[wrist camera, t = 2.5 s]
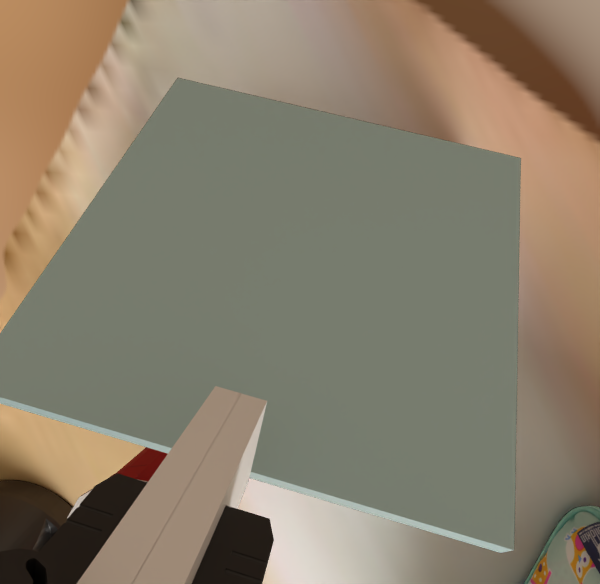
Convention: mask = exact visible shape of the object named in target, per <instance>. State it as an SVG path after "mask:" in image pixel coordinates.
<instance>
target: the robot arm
mask: <svg viewBox="0 0 600 584" xmlns="http://www.w3.org/2000/svg"><path fill="white" fill-rule="evenodd" d="M266 404H267V401H266V400H262V399H259V398H255V397H252V396H249V395H245V394H242V393H238V392H235V391H231V390H228V389H224V388H221V387H217V386H215V387H214V389H213V390H212V392H211V393H210V395H209V396H208V397H207V399H206V400H205V402H204V403H203V405H202V406H201V407H200V409H199V410H198V412H197V413H196V415H195V416H194V417H193V419H192V420H191V422H190V423H189V425H188V426H187V427H186V429H185V430H184V432H183V433H182V434H181V436H180V437H179V439H178V440H177V442H176V443H175V444H174V446H173V447H172V449H171V450H170V452H169V453H168V454H167V456H166V457H165V459H164V460H163V462H162V463H161V464H160V466H159V467H158V469H157V470H156V472H155V473H154V474H153V476H152V477H151V479H150V480H149V481H148V483H147V482H144V481H141V480H137V479H134V478H131V477H128V476H125V475H121V474H118V473H117V474H115V475H113V476H111V477H110V478H108V479H106V480H105V481H103V482H101V483H99V484H98V485H96V486H95V487H94V488H93V489H92V490H91V492H90V493H89V494H88V495H87V496H86V497H85V499H84V500H83V501H82V502H81V503H80V506H79V507H77V508H76V509H75V510H74V512H73V513H72V514H71V515H70V516H69V517H68V515H69V514H70V512H71V510H72V509H73V508H72V507H71V506H70V505H69V504H68V503H67V502H65V501H64V500H63V499H62V498H60V497H59V496H57V495H56V494H54V493H53V492H51V491H49V490H47V489H45V488H43V487H40V486H38V485H35V484H32V483H29V482H24V481H18V480H2V481H0V584H262V582H263V578H264V575H265V571H266V567H267V563H268V560H269V556H270V552H271V548H272V545H273V541H274V539H273V534H272V529H271V524H270V519H268V518H265V517H262V516H259V515H255V514H252V513H249V512H246V511H243V510H239V509H238V506H239V504H240V501H241V499H242V496H243V494H244V491H245V489H246V486H247V484H248V481H249V477H250V473H251V468H252V464H253V460H254V456H255V451H256V447H257V443H258V438H259V434H260V430H261V426H262V421H263V417H264V413H265V408H266ZM67 517H68V519H67Z"/></svg>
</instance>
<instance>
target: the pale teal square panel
mask: <svg viewBox="0 0 600 584" xmlns="http://www.w3.org/2000/svg"><path fill="white" fill-rule="evenodd" d="M520 176H521V158H519V157H514V156H510V155H506V154H502V153H497V152H493V151H489V150H484V149H480V148H476V147H472V146H467V145H463V144H459V143H455V142H450V141H446V140H442V139H437V138H433V137H429V136H425V135H420V134H416V133H412V132H408V131H403V130H399V129H395V128H390V127H386V126H382V125H378V124H373V123H369V122H365V121H361V120H356V119H352V118H348V117H343V116H339V115H335V114H331V113H326V112H322V111H318V110H314V109H309V108H305V107H301V106H296V105H292V104H288V103H284V102H279V101H275V100H271V99H267V98H262V97H258V96H254V95H249V94H245V93H241V92H237V91H232V90H228V89H224V88H220V87H215V86H211V85H207V84H202V83H198V82H194V81H190V80H185V79H181V78H177V80H176V81H175V82H174V84H173V85H172V87H171V88H170V90H169V91H168V92H167V94H166V95H165V97H164V98H163V100H162V101H161V103H160V104H159V105H158V107H157V108H156V110H155V111H154V113H153V114H152V116H151V117H150V118H149V120H148V121H147V123H146V124H145V126H144V127H143V129H142V130H141V131H140V133H139V134H138V136H137V137H136V139H135V140H134V141H133V143H132V144H131V146H130V147H129V149H128V150H127V152H126V153H125V154H124V156H123V157H122V159H121V160H120V162H119V163H118V165H117V166H116V167H115V169H114V170H113V172H112V173H111V175H110V176H109V178H108V179H107V180H106V182H105V183H104V185H103V186H102V188H101V189H100V190H99V192H98V193H97V195H96V196H95V198H94V199H93V201H92V202H91V203H90V205H89V206H88V208H87V209H86V211H85V212H84V214H83V215H82V216H81V218H80V219H79V221H78V222H77V224H76V225H75V227H74V228H73V229H72V231H71V232H70V234H69V235H68V237H67V238H66V239H65V241H64V242H63V244H62V245H61V247H60V248H59V250H58V251H57V252H56V254H55V255H54V257H53V258H52V260H51V261H50V263H49V264H48V265H47V267H46V268H45V270H44V271H43V273H42V274H41V276H40V277H39V278H38V280H37V281H36V283H35V284H34V286H33V287H32V288H31V290H30V291H29V293H28V294H27V296H26V297H25V299H24V300H23V301H22V303H21V304H20V306H19V307H18V309H17V310H16V312H15V313H14V314H13V316H12V317H11V319H10V320H9V322H8V323H7V325H6V326H5V327H4V329H3V330H2V332H1V333H0V404H4V405H7V406H10V407H14V408H17V409H20V410H24V411H27V412H31V413H34V414H37V415H41V416H44V417H47V418H51V419H54V420H57V421H61V422H64V423H67V424H71V425H74V426H77V427H81V428H84V429H87V430H91V431H94V432H97V433H101V434H104V435H107V436H111V437H114V438H118V439H121V440H124V441H128V442H131V443H134V444H138V445H141V446H144V447H148V448H151V449H154V450H158V451H161V452H164V453H169V452H170V450H171V449H172V447H173V446H174V444H175V443H176V442H177V440H178V439H179V437H180V436H181V434H182V433H183V432H184V430H185V429H186V427H187V426H188V425H189V423H190V422H191V420H192V419H193V417H194V416H195V415H196V413H197V412H198V410H199V409H200V407H201V406H202V405H203V403H204V402H205V400H206V399H207V397H208V396H209V395H210V393H211V392H212V390H213V389H214V387H215V386H217V387H221V388H224V389H228V390H231V391H235V392H238V393H242V394H245V395H249V396H252V397H255V398H259V399H262V400H266V401H267V404H266V408H265V413H264V417H263V421H262V426H261V430H260V434H259V438H258V443H257V447H256V451H255V456H254V460H253V464H252V468H251V473H250V477H249V478H251V479H255V480H258V481H261V482H265V483H268V484H271V485H275V486H278V487H281V488H285V489H288V490H292V491H295V492H298V493H302V494H305V495H308V496H312V497H315V498H318V499H322V500H325V501H328V502H332V503H335V504H338V505H342V506H345V507H348V508H352V509H355V510H358V511H362V512H365V513H368V514H372V515H375V516H379V517H382V518H385V519H389V520H392V521H395V522H399V523H402V524H405V525H409V526H412V527H415V528H419V529H422V530H425V531H429V532H432V533H435V534H439V535H442V536H445V537H449V538H452V539H455V540H459V541H462V542H466V543H469V544H472V545H476V546H479V547H482V548H486V549H489V550H492V551H496V552H499V553H503V552H508V551H513V550H514V531H515V472H516V412H517V353H518V294H519V235H520Z"/></svg>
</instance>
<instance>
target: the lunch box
mask: <svg viewBox="0 0 600 584" xmlns="http://www.w3.org/2000/svg"><path fill="white" fill-rule="evenodd" d="M524 584H600V507H597V506H582V507H577V508H574V509H572V510H571V511H570V512H568V513H567V514H566V515H565V516H564V517H563V518H562V519H561V521H560V522H559V523H558V525H557V526H556V528H555V529H554V531H553V533H552V534H551V536H550V538H549V540H548V542H547V544H546V545H545V547H544V549H543V551H542V553H541V554H540V556H539V558H538V560H537V562H536V563H535V565H534V567H533V569H532V570H531V572H530V574H529V576H528V577H527V579H526V581H525V582H524Z"/></svg>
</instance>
